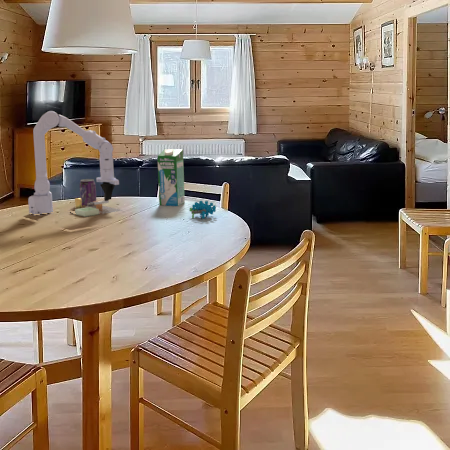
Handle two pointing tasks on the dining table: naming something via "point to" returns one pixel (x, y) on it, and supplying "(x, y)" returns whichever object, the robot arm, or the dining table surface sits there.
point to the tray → (87, 211)
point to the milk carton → (171, 177)
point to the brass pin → (78, 203)
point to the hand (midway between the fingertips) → (108, 199)
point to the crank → (98, 202)
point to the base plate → (103, 209)
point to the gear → (202, 209)
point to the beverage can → (87, 191)
